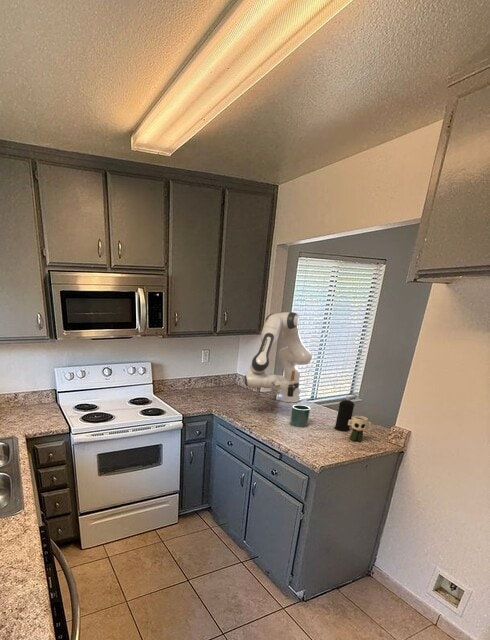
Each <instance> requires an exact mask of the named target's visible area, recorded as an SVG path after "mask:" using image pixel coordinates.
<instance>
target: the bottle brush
mask: <svg viewBox="0 0 490 640" xmlns="http://www.w3.org/2000/svg"><path fill="white" fill-rule="evenodd" d="M294 376H295V371H292V373H291V381H294ZM293 393H294V387H293V384H291V385H290V386H289V387H288V393H287V396H289V397H293Z"/></svg>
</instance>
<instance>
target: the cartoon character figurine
mask: <svg viewBox="0 0 490 640" xmlns="http://www.w3.org/2000/svg"><path fill="white" fill-rule="evenodd" d="M368 420H369V419H368V417H367V416H363V415H354V416H352V419H351V420H349V421H348V425H350V427H351V429H352V431H351V433H350V435H349V439H350V440H351V441H355V442H356V441H357V442H362V441H363V439H364V438H363V437H364V431H365V430H366V428H367V429H369V428H371V425H372V421H368ZM350 422H351V423H350ZM367 424H368V425H367Z"/></svg>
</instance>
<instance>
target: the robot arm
mask: <svg viewBox="0 0 490 640" xmlns="http://www.w3.org/2000/svg"><path fill="white" fill-rule="evenodd" d="M299 323H300V317H299V315H298V313H296V312H294V311H291V312H289V311H288V312H287V311H283V312H277V313H270V314H268V315H267V316H266V318H265V320H264V323H263V327H262V330H261V333H260V341H261V343H260V346H259V350H258V352H257V353H256V354H255V355H254V356H253V358H252V360H251V364H250V367H249V369H248V371H247V373H246V374H245V375H244V384H245V386H246V387H248V388H252V389H261V388H263V389H274V388H276V389H277V388H278V389H277V393H276V396H275V400H276V401H279V402H280V401H281V402H283V403H297V402H302V398H301V389H300V377H301V371H300V370H299V368H298V367H297V366H296V365H300V366H301V365H303V366H304V365H308V364H310V362H311V361H312V357H313V356H312V355H313V354H312V352H311V351H310V350H309V349H307V347H306V346H305V345H304V344H303V341H302V339H301V336H300V331H299V326H298V325H299ZM280 334H281V336H282V340H283V344H284V346H285V347H281V348H280V349H279V351H278V354H277V357H278V359H279V361H280V362H281V364H282V368H283V375H280V374H273V373H266V370H267V368H268V367H269V364H270V357H269V356H270V352H271V349H272V346H273V345H275V343H276V342H277V341H278V338H279V336H280ZM292 371H295V376H294V381H291V373H292ZM291 384H293V387H294V393H293V397H289V396H287V393H288V387H289V386H290V385H291Z"/></svg>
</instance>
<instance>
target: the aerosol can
mask: <svg viewBox="0 0 490 640" xmlns="http://www.w3.org/2000/svg"><path fill="white" fill-rule="evenodd" d="M338 404H339V405H338V410H337V416H336V421H335V426H334V429H335V430H336V431H340V432H349V431H350V429H351V428H350V427H351V426H350V425H348V421H349V420H352V419H353V414H354V412H353V411H354V409H355V405H356V404H355V403H354V402H353V401H352V400H351V396H349V395H347V396H346V397H345V399H343V400H341V401H339V402H338ZM350 424H352V422H350Z"/></svg>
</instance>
